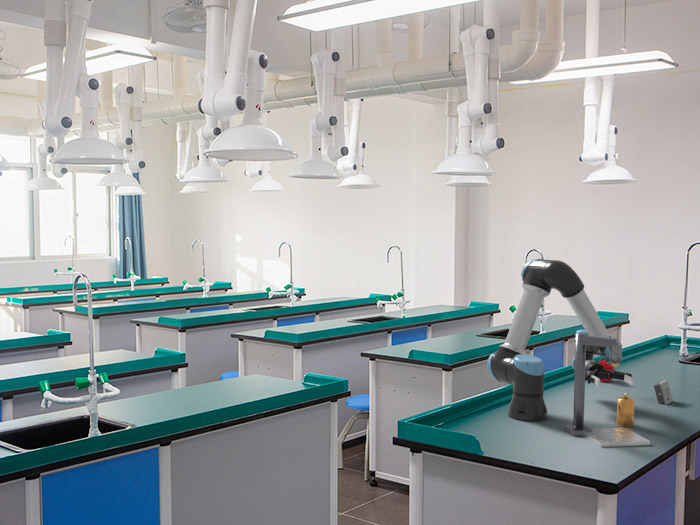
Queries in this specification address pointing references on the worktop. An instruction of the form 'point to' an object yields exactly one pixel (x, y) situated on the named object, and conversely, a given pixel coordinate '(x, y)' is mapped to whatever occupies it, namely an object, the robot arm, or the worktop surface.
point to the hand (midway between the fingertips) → (616, 382)
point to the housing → (625, 411)
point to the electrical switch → (663, 392)
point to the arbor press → (598, 435)
